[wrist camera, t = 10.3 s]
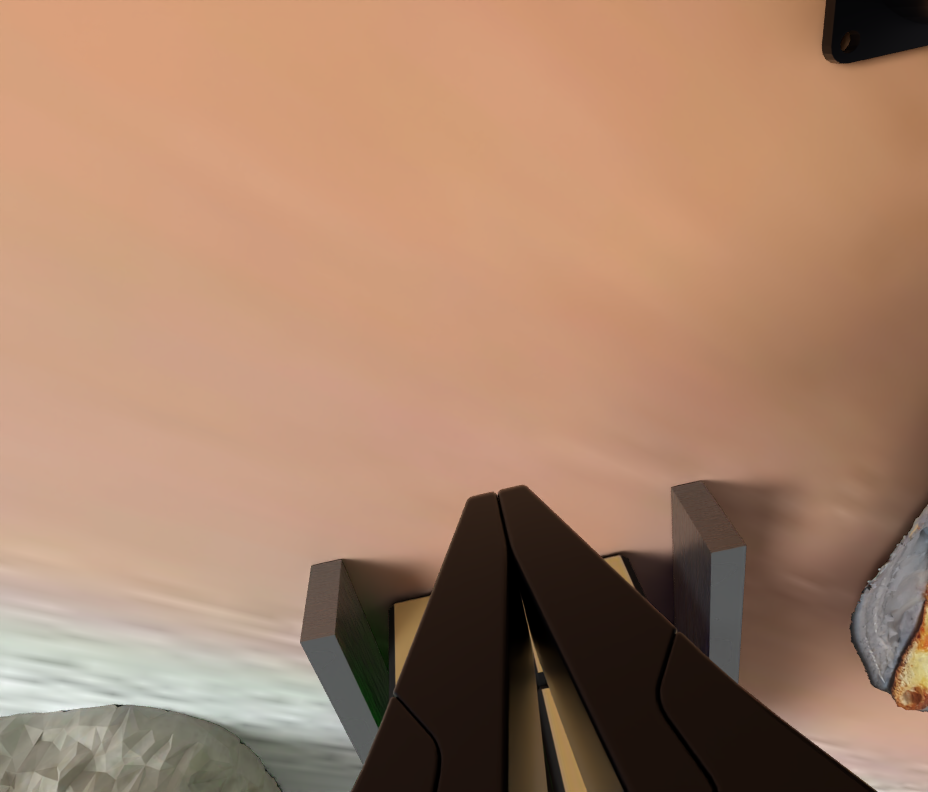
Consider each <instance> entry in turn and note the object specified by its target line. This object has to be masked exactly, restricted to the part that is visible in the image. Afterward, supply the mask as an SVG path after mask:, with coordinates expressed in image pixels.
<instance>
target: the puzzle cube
mask: <svg viewBox="0 0 928 792" xmlns="http://www.w3.org/2000/svg"><path fill="white" fill-rule="evenodd" d="M603 559H604V560H605V561H606V562H607V563H608V564H609V565H610V566H611V567H613V568H614V569H615V570H616V571H617V572H618V573H619V574H620V575H621V576H622V577H623V578H624V579H625V580H626V581H627V582H628V583H629V584H630V585H632V586H633V587H634V588H635V589H636V590H637V591H638V592H639V593H640V594H641V595H642V596H643V597H644V598H645V599H646V600H647V598H646V596H645V594H644V592H643V590H642V587H641V585H640V583H639V581H638V579H637V576H636V574H635V572H634V570H633V568H632V565H631V563H630V561H629V559H628V558H626V557H624V556H622V555H615V556H610V557H605V558H603ZM429 598H430V595H429V596H425V597H420V598H416V599H411V600H407V601H402V602H397V603H395V604H394V605H393V606H392V607H391V608H390V609H389V701H390V699H391V698H392V697H394V695H393V691H394V689H395V686H396V683H397V681H398V678H399V676H400V673H401V671H402V668H403V665H404V663H405V660H406V658H407V655H408V652H409V650H410V647H411V645H412V642H413V639H414V637H415V634H416V632H417V629H418V626H419V624H420V621H421V619H422V616H423V613H424V611H425V608H426V606H427V603H428V600H429ZM647 601H648V600H647ZM522 602H523V601H522ZM523 606H524V605H523ZM524 610H525V609H524ZM525 615H526V614H525ZM526 619H527V618H526ZM527 623H528V622H527ZM528 628H529V626H528ZM529 633H530V630H529ZM530 638H531V643H532V650H533V657H534V666H535V676H536V685H537V695H538V704H539V714H540V724H541V733H542V743H543V752H544V762H545V771H546V781H547V790H548V792H587V790H586V787H585V784H584V782H583V779H582V776H581V774H580V771H579V768H578V765H577V763H576V760H575V757H574V754H573V752H572V749H571V746H570V744H569V741H568V738H567V735H566V733H565V730H564V727H563V725H562V722H561V719H560V716H559V714H558V711H557V708H556V706H555V703H554V700H553V697H552V695H551V692H550V689H549V686H548V684H547V681H546V678H545V676H544V673H543V670H542V667H541V665H540V662H539V659H538V656H537V653H536V650H535V647H534V644H533V641H532V637H531V633H530Z"/></svg>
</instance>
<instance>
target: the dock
mask: <svg viewBox="0 0 928 792" xmlns="http://www.w3.org/2000/svg"><path fill="white" fill-rule="evenodd" d="M671 499H672V538H673V577H674V616H675V627H676V628H677V633H678V632H681V633H683V634H684V635H685V636H686V637H687V638H688V639H689V640H690V641H691V642H692V643H693V644H694V645H695V646H696V647H697V648H698V649H699V650H701V651H702V652H703V653H704V654H705V655H706V656H707V657H708V658H709V659H710V660H712V661H713V662H714V663H715V664H716V665H717V666H718V667H719V668H721V669H722V670H723V671H724V672H725V673H726V674H727V675H728V676H730V677H731V678H732V679H733V680H734V681H735V682H736V683H737V684H738V678H739V661H740V645H741V628H742V611H743V594H744V578H745V561H746V544H745V543H744V541H743V540H742V538H741V537H740V535H739V534H738V532H737V531H736V530H735V528H734V527H733V525H732V524H731V522H730V521H729V519H728V518H727V517H726V515H725V514H724V512H723V511H722V509H721V508H720V506H719V505H718V503H717V502H716V501H715V499H714V498H713V496H712V495H711V493H710V492H709V490H708V489H707V487H706V486H705V485H704V483H703V482H702V481H698V482H694V483H689V484H684V485H680V486H675V487H671ZM300 643H301V645H302V647H303V649H304V651H305V653H306V655H307V657H308V659H309V661H310V662H311V664H312V666H313V668H314V670H315V672H316V674H317V676H318V678H319V680H320V682H321V684H322V686H323V688H324V690H325V692H326V694H327V695H328V697H329V699H330V701H331V703H332V705H333V707H334V709H335V711H336V713H337V715H338V717H339V719H340V721H341V723H342V725H343V727H344V729H345V730H346V732H347V734H348V736H349V738H350V740H351V742H352V744H353V746H354V748H355V750H356V752H357V754H358V756H359V758H360V760H361V762H362V763H363V765H364V763H365V760H366V758H367V755H368V753H369V751H370V748H371V746H372V744H373V741H374V739H375V736H376V734H377V732H378V729H379V727H380V724H381V722H382V719H383V717H384V714H385V711H386V709H387V706H388V703H389V672H388V670H387V668H386V665H385V663H384V660H383V658H382V656H381V653H380V651H379V648H378V646H377V644H376V641H375V639H374V636H373V634H372V632H371V629H370V627H369V624H368V622H367V620H366V617H365V615H364V612H363V610H362V607H361V605H360V603H359V600H358V598H357V595H356V593H355V591H354V588H353V586H352V583H351V581H350V579H349V576H348V574H347V571H346V569H345V567H344V564H343V562H342V559H341V560H336V561H332V562H327V563H322V564H318V565H313V566H311V571H310V578H309V585H308V591H307V598H306V605H305V612H304V619H303V626H302V633H301V639H300Z"/></svg>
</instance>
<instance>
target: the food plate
mask: <svg viewBox="0 0 928 792" xmlns="http://www.w3.org/2000/svg"><path fill="white" fill-rule="evenodd" d="M878 570H879V572H878V575H877V576H876V577H875V578H874V579H873V580H872V581H867V582H868V583H869V584H870V585H871V586H872V587H868V585H869V584H868V585H867V586H866V587H865V589H864V590H863V591H862V593H863V594H862V595H861V598H860V601H859V602H858V603H860V604H857V607H856V608H855V612H853V613H852V617H851V618H852V619H851V620H852V622H853V623H851V625H850V628H849V629H850V631H851V632H850V633H851V636H852V637H851V642H852V643H854V647H855V649H856V651H858V652H857V654H858V655H859V657H860V658H861V660H862V661H861V662H863V665H864V666H865V667H864V668H865V669H866V671H865V672H867V673H868V675H867V676H868V677H869V678H868V679H869V680H870V683H871V684H872V685H873V687H875V688H878V689H880V690H882V691H885V692H887V693H889V694H891V696H892V698H893V699H894V700H895V702H896V704H897V706H898V707H902V708H904V709H906V710H918V711H922V712H924V711H927V712H928V505H927V506H926V508H925V509H923V512H922V513H921V515H920V516H919V517H918V518H916V519H915V521H914V523H913V528H912V529H911V530H910V531H909V532H908V535H907V536H905V535H904V536H903V539H902V540H901V542H900V544H896V549H895V550H894V551H893V552H892V554H891V555H890V559H889V561H888V562H886V563H885V564H884V565H883V566H882V567H881V568H879V569H878Z"/></svg>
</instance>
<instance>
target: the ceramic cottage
mask: <svg viewBox="0 0 928 792" xmlns="http://www.w3.org/2000/svg"><path fill="white" fill-rule="evenodd" d="M267 772H268V771H267ZM267 772H265V768H264V765H263V763H261V761H260V758H258V757H257V756H256V754H255V753H254V752H253V751H252V750H251V749H250V748H249V747H248V746H246V747H245V744H240V739H239V738H238V737H237V736H236V735H234V734H233V733H231V732H229V731H228V730H226V729H224V728H222V727H221V726H218V725H216V724H213V723H210V722H208V721H204V720H201V719H198V718H195V717H191V716H188V715H185V714H181V713H177V712H173V711H168V712H167V711H165V710H163V709H158V708H153V707H144V706H134V705H124V706H120V707H117V706H115V705H106V706H100V707H91V708H80V709H73V710H71V711H67V712H63V711H62V710H61V711H56V712H48V713H25V714H16V715H12V716H7V717H0V792H281V790H280V789H279V787H277V783H276V782H275V780H274V779H275V778H271V776H270V775H269V774H268V773H267Z"/></svg>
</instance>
